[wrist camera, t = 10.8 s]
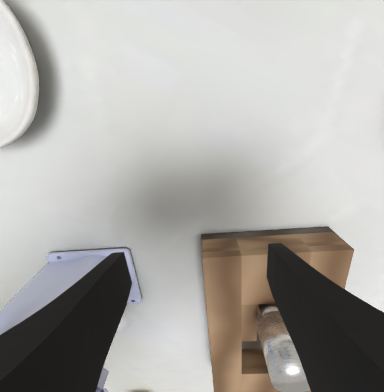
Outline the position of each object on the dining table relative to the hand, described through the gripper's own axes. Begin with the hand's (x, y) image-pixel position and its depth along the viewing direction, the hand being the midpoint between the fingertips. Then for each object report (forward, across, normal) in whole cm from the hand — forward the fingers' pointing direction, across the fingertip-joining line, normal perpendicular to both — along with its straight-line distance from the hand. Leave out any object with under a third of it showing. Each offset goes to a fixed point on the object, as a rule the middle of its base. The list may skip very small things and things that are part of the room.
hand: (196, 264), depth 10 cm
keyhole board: (+10, -6, +16) cm, 20 cm away
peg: (+9, -6, +12) cm, 17 cm away
